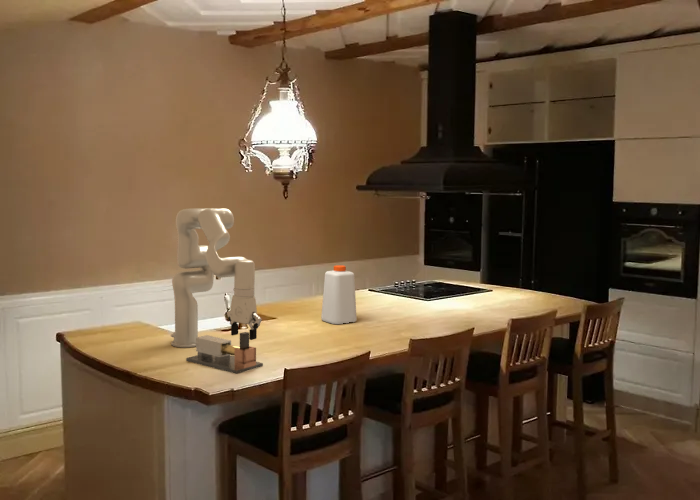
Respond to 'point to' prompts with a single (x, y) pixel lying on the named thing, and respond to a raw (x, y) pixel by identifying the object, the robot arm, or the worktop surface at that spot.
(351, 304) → the plastic bottle
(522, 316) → the worktop surface
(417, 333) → the worktop surface
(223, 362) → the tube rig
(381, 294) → the worktop surface
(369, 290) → the worktop surface
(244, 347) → the sliding bolt with handle
